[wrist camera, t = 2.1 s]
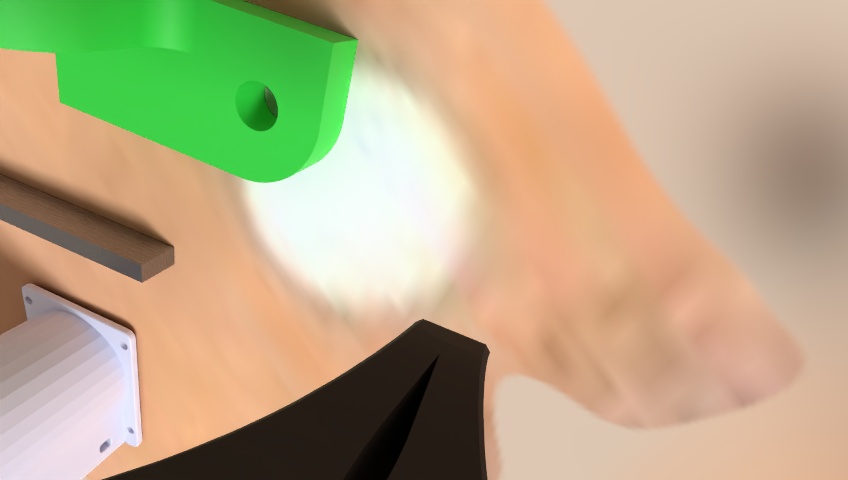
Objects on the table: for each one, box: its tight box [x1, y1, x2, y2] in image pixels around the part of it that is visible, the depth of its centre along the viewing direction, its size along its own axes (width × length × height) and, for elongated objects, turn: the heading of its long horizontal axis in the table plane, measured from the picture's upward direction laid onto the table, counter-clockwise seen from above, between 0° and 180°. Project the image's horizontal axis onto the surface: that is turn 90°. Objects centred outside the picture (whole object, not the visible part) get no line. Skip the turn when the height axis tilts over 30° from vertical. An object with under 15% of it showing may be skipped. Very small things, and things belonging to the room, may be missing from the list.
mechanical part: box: [0, 0, 358, 183], centre depth 18 cm, size 12×6×8 cm, turn 75°
